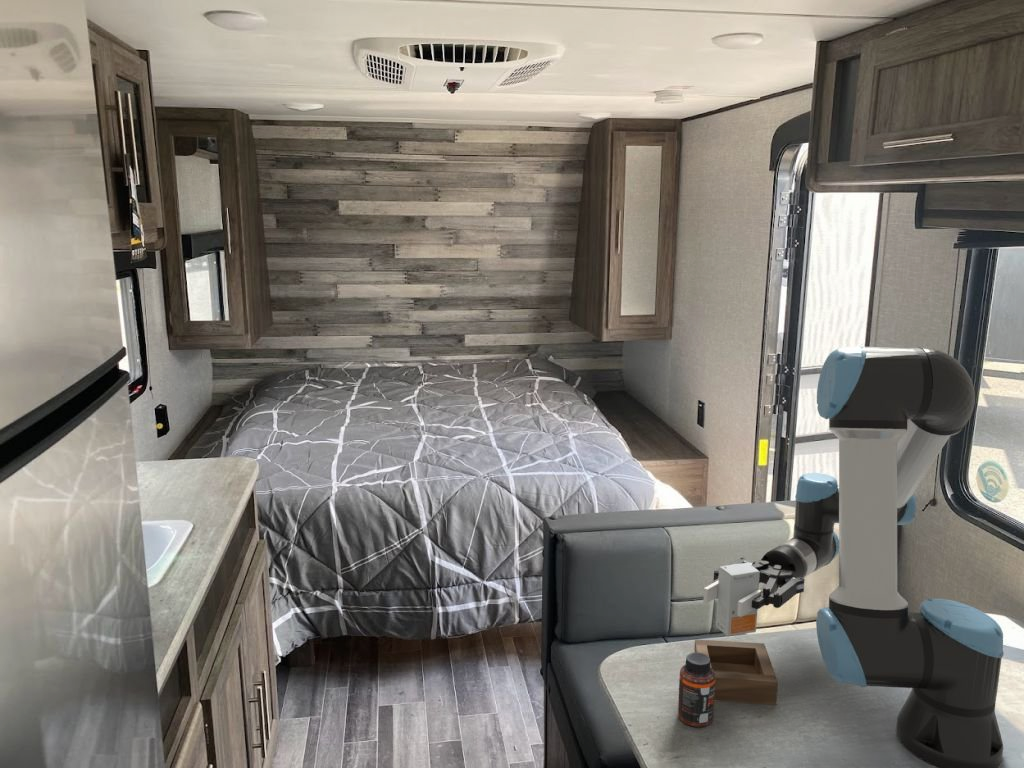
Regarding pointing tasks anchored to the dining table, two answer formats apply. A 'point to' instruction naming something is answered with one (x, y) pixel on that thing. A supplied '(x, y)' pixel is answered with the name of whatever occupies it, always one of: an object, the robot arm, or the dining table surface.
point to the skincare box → (736, 598)
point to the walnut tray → (740, 671)
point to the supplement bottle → (696, 691)
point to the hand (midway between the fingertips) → (722, 602)
